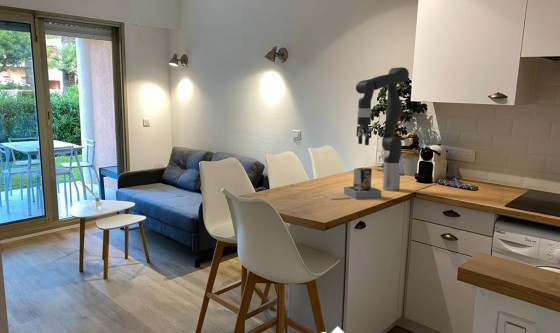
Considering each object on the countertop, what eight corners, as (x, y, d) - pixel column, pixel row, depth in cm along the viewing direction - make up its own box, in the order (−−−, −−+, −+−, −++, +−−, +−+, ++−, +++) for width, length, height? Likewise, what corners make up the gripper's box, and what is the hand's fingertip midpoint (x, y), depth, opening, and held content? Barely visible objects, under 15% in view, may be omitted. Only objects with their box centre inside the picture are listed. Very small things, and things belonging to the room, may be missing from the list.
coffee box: (361, 197, 240) (362, 169, 237) (352, 195, 245) (353, 168, 242) (371, 195, 246) (372, 168, 243) (362, 193, 251) (363, 167, 248)
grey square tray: (368, 191, 255) (368, 185, 254) (380, 197, 240) (381, 190, 239) (344, 193, 251) (344, 186, 250) (355, 199, 236) (355, 192, 235)
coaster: (342, 194, 248) (342, 193, 248) (350, 198, 237) (350, 197, 237) (323, 195, 245) (323, 194, 245) (331, 199, 234) (331, 198, 234)
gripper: (376, 116, 232) (375, 145, 235) (364, 116, 246) (363, 143, 248) (363, 116, 231) (363, 146, 233) (352, 116, 244) (352, 143, 247)
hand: (363, 144), depth 241 cm, fingers open, 8 cm apart
